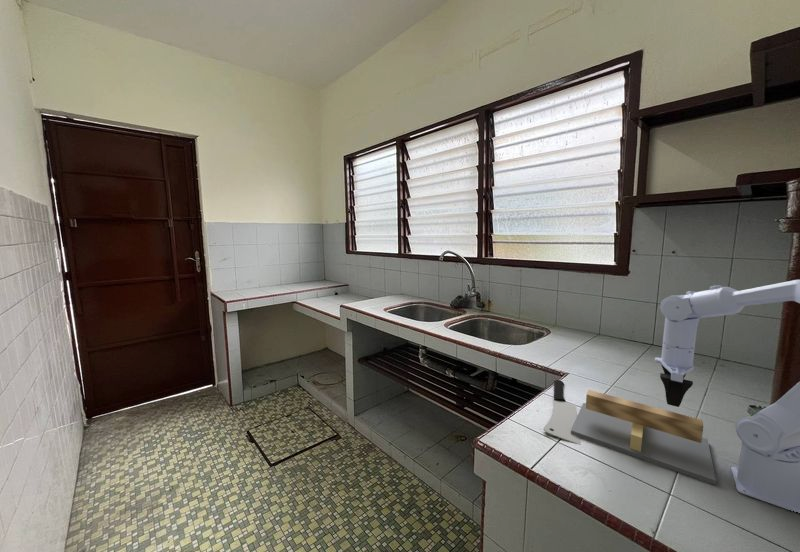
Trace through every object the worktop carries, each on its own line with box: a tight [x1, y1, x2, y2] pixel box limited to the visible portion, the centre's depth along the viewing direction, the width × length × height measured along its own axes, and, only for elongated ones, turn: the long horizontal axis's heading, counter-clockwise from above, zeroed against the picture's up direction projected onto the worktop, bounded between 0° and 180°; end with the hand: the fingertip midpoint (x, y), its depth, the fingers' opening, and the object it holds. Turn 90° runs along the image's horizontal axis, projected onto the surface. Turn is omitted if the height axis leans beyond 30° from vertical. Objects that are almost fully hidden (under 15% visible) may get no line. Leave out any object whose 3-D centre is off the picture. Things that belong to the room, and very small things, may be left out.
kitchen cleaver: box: [543, 379, 582, 445], centre depth 90 cm, size 31×2×10 cm
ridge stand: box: [571, 402, 717, 486], centre depth 77 cm, size 26×16×4 cm, turn 50°
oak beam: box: [585, 389, 704, 443], centre depth 76 cm, size 22×3×4 cm, turn 50°
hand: (672, 398), depth 76 cm, fingers open, 7 cm apart
